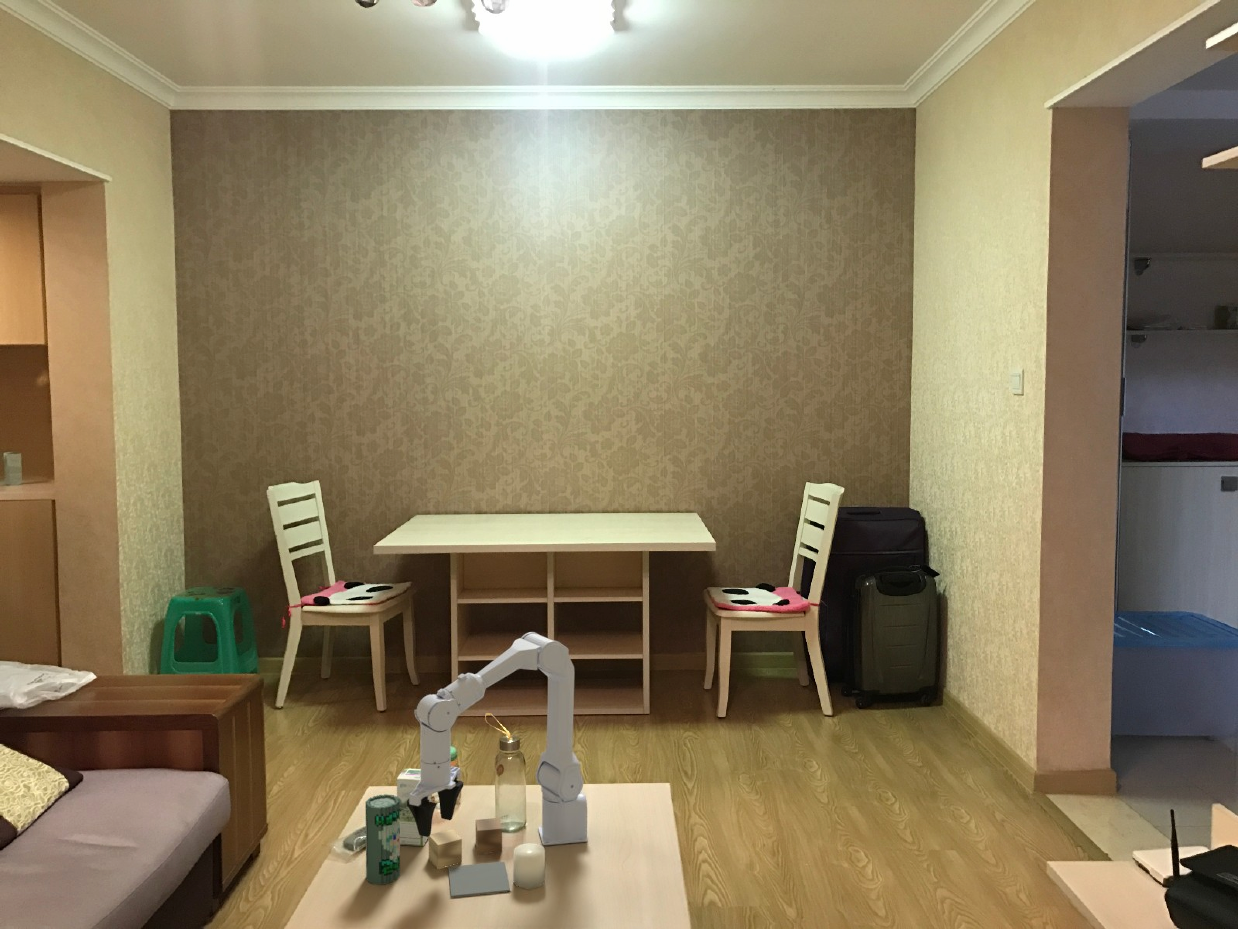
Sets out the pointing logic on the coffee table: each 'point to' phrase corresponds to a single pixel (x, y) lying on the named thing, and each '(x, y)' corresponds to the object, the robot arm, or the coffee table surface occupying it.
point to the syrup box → (407, 822)
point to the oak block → (445, 848)
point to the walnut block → (488, 835)
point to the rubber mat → (478, 879)
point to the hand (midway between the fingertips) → (435, 827)
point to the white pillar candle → (529, 865)
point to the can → (382, 839)
